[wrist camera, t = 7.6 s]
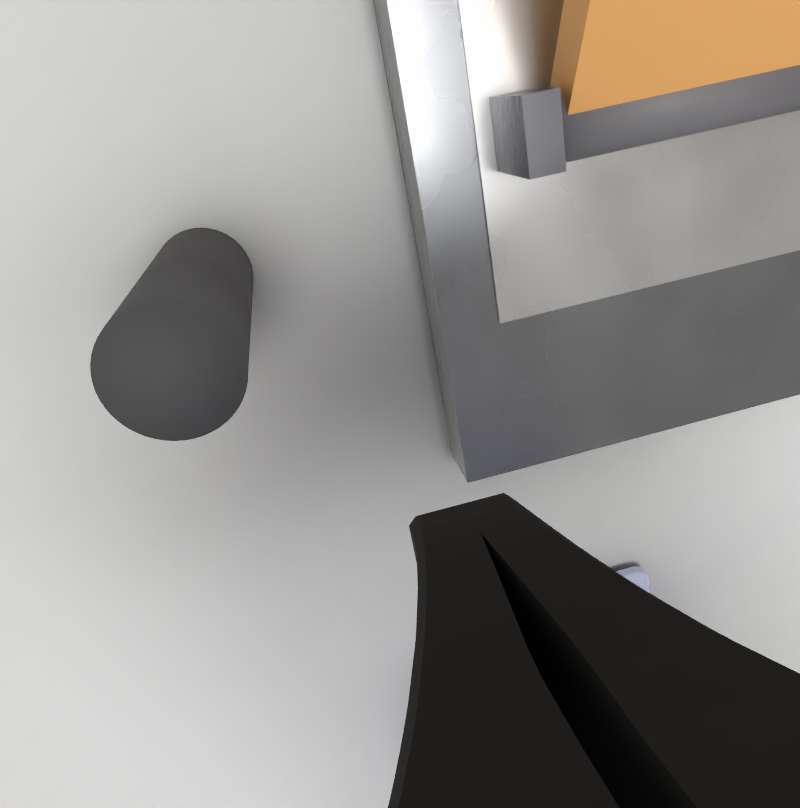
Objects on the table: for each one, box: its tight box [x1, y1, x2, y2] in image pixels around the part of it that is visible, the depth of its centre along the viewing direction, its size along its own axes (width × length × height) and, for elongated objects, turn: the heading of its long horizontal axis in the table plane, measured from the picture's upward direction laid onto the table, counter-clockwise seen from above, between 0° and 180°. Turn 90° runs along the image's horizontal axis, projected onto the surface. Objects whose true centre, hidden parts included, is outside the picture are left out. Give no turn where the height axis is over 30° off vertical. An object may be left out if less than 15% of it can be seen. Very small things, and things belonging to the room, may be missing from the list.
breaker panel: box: [373, 0, 800, 482], centre depth 15 cm, size 18×12×4 cm, turn 11°
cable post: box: [91, 228, 253, 441], centre depth 14 cm, size 2×2×7 cm
